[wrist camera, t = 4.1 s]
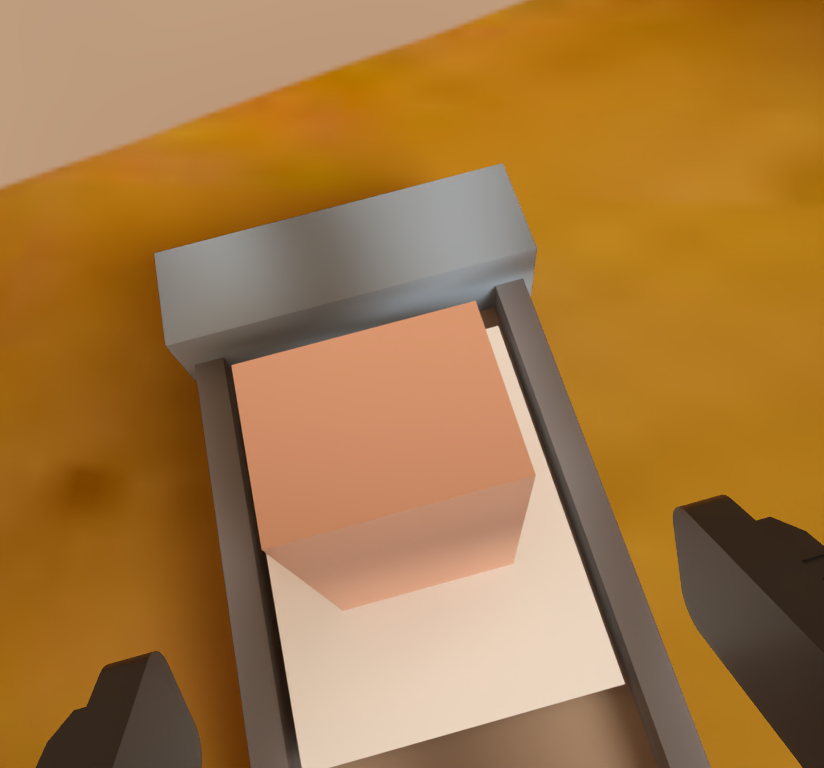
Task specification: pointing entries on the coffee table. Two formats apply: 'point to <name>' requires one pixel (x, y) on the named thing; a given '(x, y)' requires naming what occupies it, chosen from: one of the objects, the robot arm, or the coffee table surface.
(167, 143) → the coffee table surface
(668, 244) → the coffee table surface
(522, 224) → the rail
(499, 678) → the carriage
